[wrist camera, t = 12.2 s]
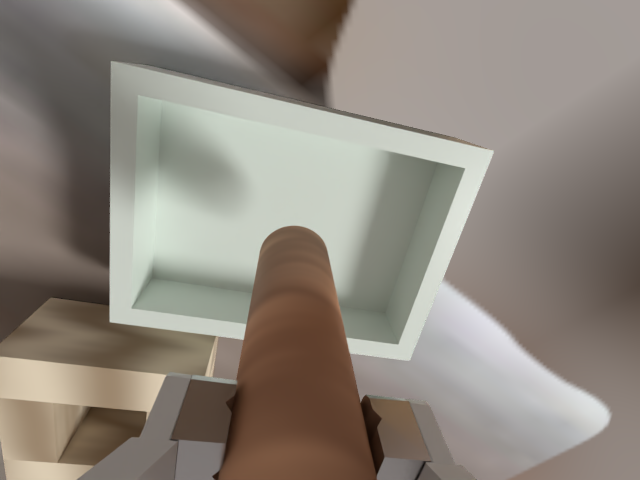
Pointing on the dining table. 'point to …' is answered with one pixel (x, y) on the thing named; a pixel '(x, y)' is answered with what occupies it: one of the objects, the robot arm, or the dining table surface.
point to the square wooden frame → (84, 386)
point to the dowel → (296, 374)
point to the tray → (275, 205)
